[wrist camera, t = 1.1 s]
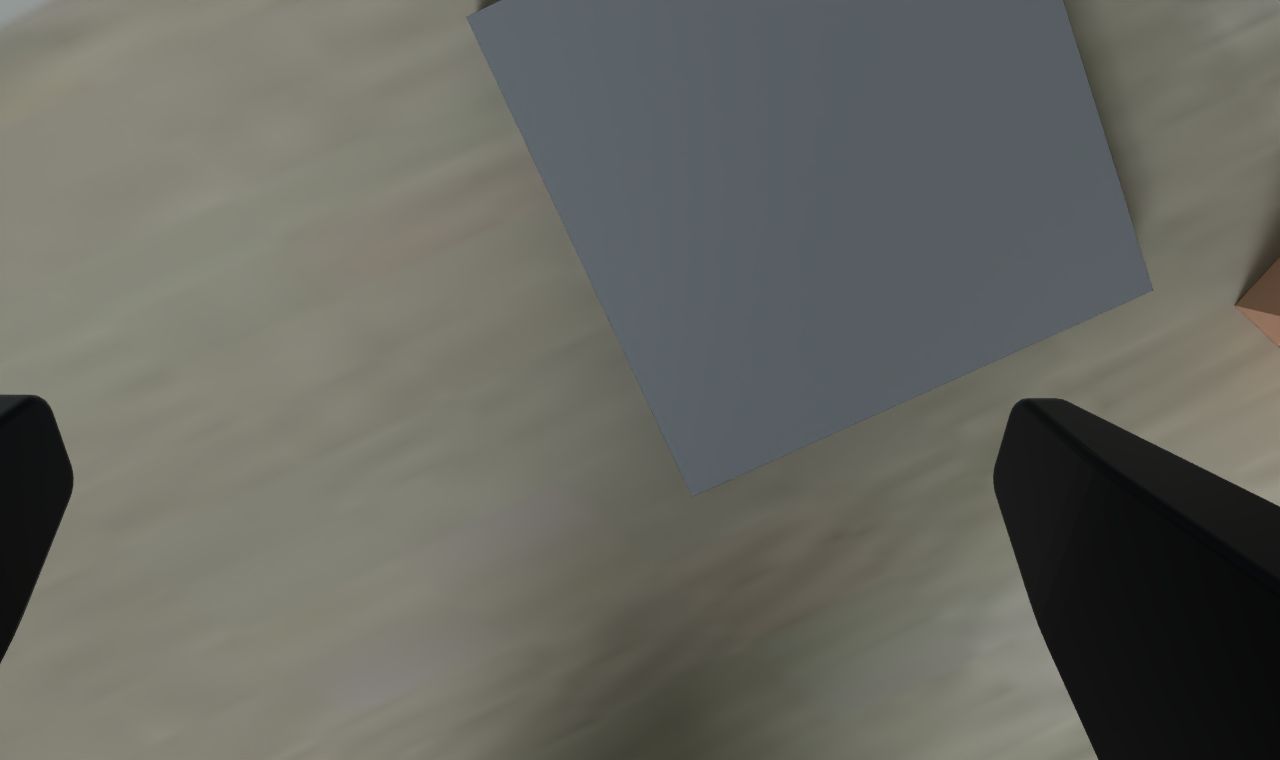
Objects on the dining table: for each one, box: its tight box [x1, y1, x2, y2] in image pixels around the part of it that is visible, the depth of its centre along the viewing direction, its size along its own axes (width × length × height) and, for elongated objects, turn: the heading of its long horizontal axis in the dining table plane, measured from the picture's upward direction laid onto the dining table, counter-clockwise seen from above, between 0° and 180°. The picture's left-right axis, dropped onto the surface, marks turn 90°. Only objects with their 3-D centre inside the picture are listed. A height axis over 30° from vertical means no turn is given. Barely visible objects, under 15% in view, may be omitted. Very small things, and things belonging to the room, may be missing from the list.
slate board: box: [466, 0, 1153, 497], centre depth 22 cm, size 12×12×2 cm
